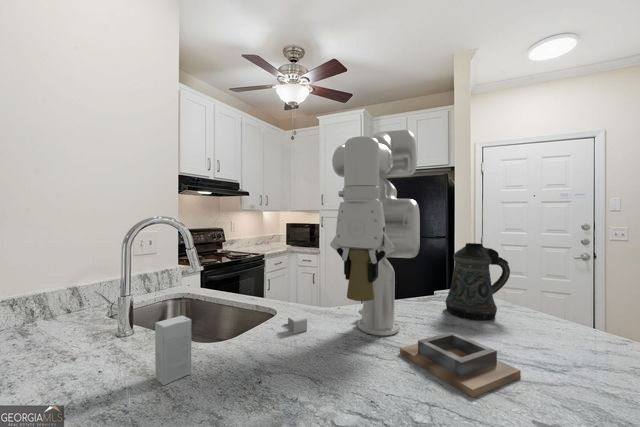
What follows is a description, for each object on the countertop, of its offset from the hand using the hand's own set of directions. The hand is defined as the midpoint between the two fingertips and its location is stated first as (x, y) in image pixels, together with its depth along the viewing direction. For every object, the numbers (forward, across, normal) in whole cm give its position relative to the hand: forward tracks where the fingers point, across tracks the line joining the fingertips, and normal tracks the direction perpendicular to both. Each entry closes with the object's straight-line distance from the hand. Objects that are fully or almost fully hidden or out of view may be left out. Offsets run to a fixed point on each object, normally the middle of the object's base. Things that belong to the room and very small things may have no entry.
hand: (360, 278), depth 64 cm
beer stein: (+22, +21, +59) cm, 67 cm away
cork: (+4, 0, 0) cm, 4 cm away
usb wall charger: (+22, -26, +13) cm, 36 cm away
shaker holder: (+21, +18, +16) cm, 32 cm away
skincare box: (+21, -35, -20) cm, 45 cm away
